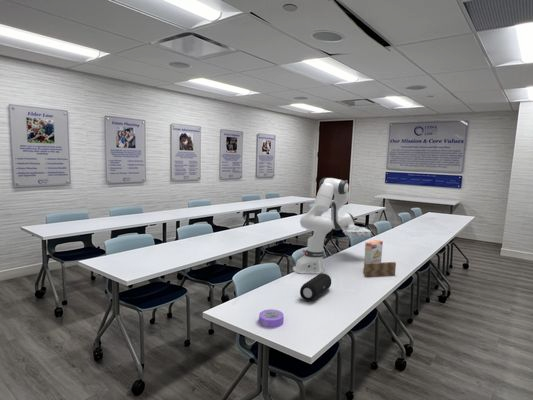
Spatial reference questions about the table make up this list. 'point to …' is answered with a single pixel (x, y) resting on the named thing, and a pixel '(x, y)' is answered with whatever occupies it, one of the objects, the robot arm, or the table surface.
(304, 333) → the table surface
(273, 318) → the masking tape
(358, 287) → the table surface
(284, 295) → the table surface
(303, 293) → the portable speaker
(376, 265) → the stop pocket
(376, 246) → the cracker box
